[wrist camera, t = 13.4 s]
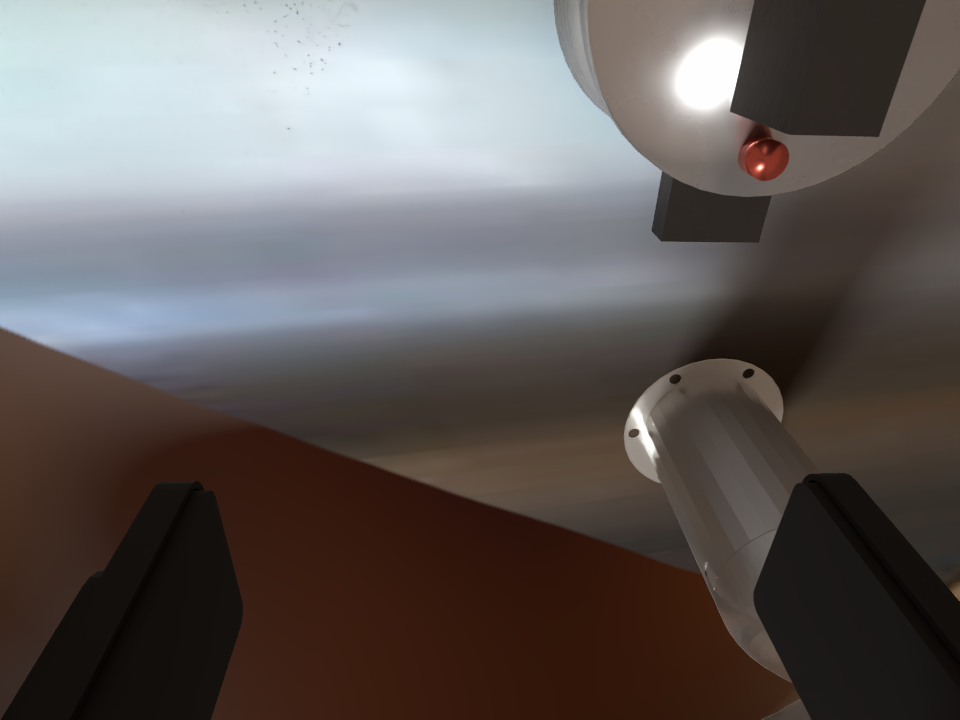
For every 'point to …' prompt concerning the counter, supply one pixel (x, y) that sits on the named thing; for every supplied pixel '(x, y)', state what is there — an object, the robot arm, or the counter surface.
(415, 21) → the counter surface
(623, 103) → the lid
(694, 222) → the pot
